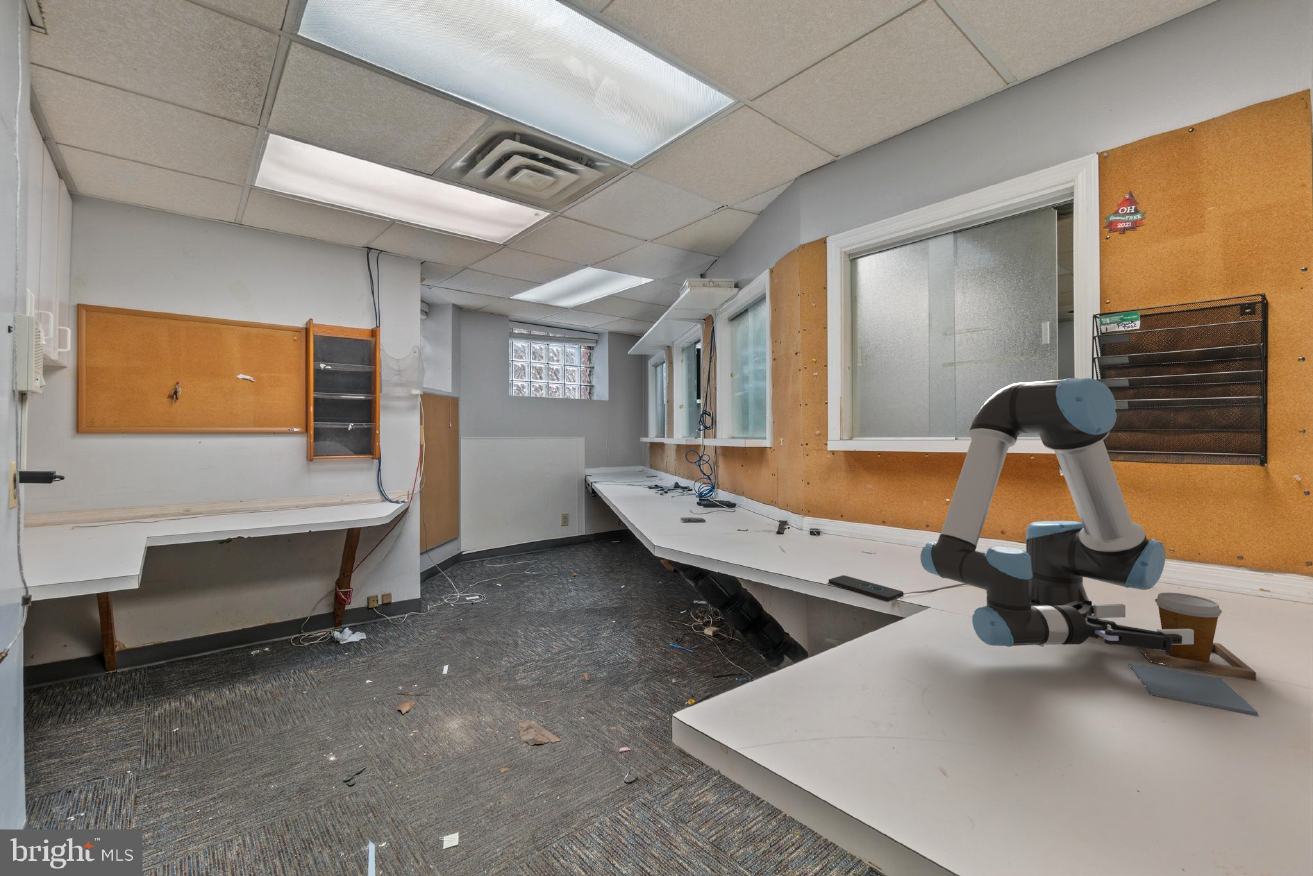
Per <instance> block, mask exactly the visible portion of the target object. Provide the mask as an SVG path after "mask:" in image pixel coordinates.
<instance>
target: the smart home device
mask: <svg viewBox="0 0 1313 876" xmlns="http://www.w3.org/2000/svg"><path fill="white" fill-rule="evenodd" d="M829 583H830V584H829ZM828 584H829V585H833V586H836V587H839V588H843V589H845V590H846V589H847V590H850V591H853V592H856V593H860V594H863V595H867V596H869V597H872V598H876V599H880V600H883V601H885V602H890V601H893V600H896V599H899V598H901V597H904V591H902V590H901V589H900V590H899V589H896V588H892V587H888V586H885V585H882V584H878V583H875V582H871V581H866V580H862V579H859V578H856V577H851V576H848V575H845V574H844V575H839V576H836V577H832V578H829V579H828Z"/></svg>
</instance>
